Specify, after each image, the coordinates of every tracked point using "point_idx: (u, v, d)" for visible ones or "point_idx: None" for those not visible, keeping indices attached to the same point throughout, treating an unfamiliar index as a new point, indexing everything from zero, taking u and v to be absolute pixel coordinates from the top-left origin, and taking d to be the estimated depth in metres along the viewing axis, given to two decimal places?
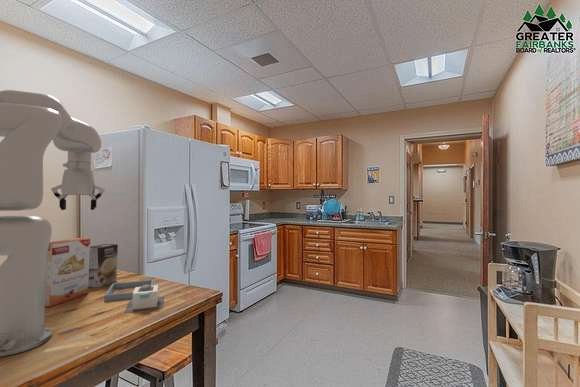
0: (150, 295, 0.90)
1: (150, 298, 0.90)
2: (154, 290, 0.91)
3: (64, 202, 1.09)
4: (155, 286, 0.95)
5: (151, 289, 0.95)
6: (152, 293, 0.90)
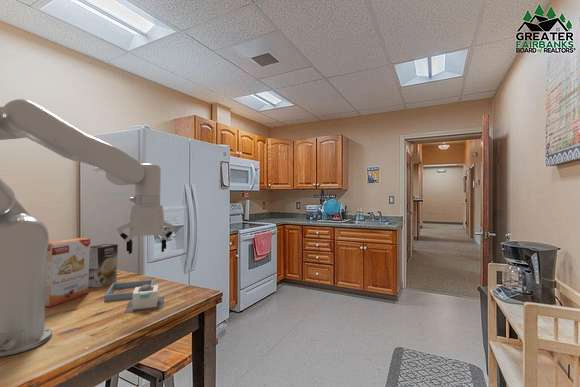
0: (150, 295, 0.90)
1: (150, 298, 0.90)
2: (154, 290, 0.91)
3: (131, 243, 0.91)
4: (155, 286, 0.95)
5: (151, 289, 0.95)
6: (152, 293, 0.90)
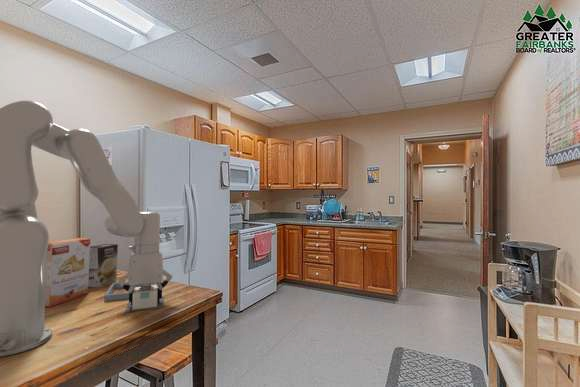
0: (150, 295, 0.90)
1: (150, 298, 0.90)
2: (154, 290, 0.91)
3: None
4: (155, 286, 0.95)
5: (151, 289, 0.95)
6: (152, 293, 0.90)
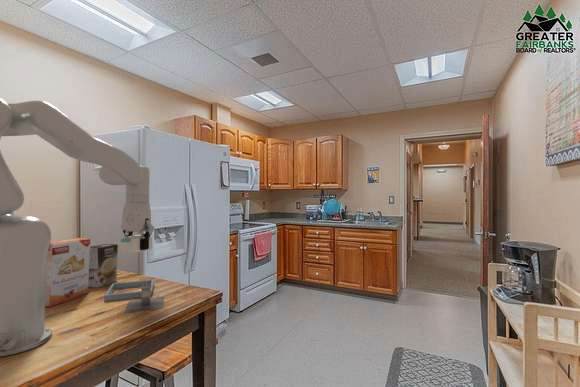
0: (131, 241, 0.97)
1: (131, 244, 0.97)
2: (136, 238, 0.98)
3: None
4: None
5: None
6: (132, 240, 0.97)
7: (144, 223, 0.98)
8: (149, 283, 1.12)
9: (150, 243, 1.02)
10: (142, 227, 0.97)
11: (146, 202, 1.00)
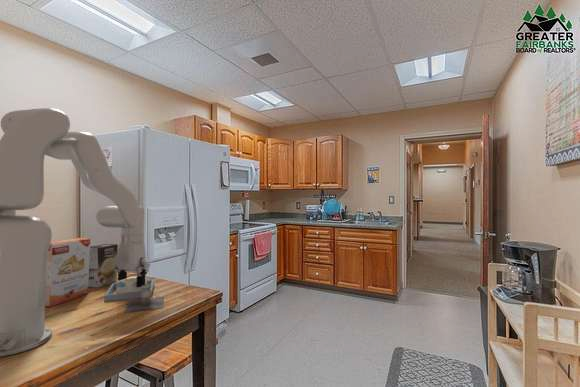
0: (125, 285, 1.00)
1: (126, 288, 1.00)
2: (131, 282, 1.01)
3: (123, 275, 1.06)
4: None
5: None
6: (127, 284, 1.00)
7: (139, 263, 1.01)
8: (149, 283, 1.12)
9: None
10: (137, 267, 1.00)
11: (141, 241, 1.03)
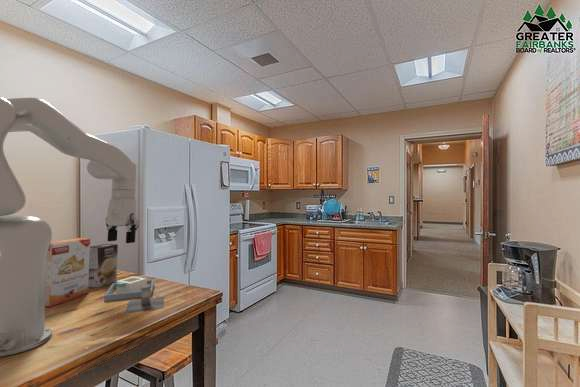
0: (125, 285, 1.00)
1: (126, 288, 1.00)
2: (131, 282, 1.01)
3: (113, 232, 1.03)
4: (141, 279, 1.05)
5: None
6: (127, 284, 1.00)
7: (129, 218, 0.99)
8: (149, 283, 1.12)
9: None
10: (127, 222, 0.98)
11: (132, 197, 1.01)
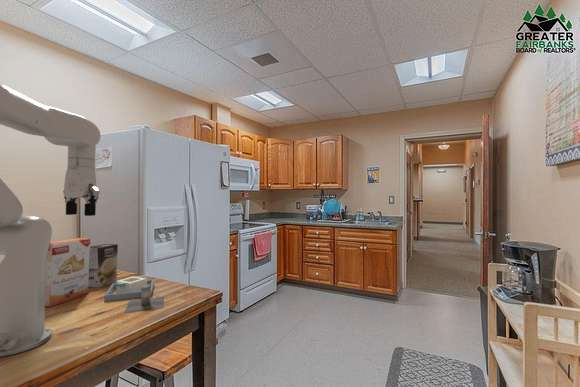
0: (125, 285, 1.00)
1: (126, 288, 1.00)
2: (131, 282, 1.01)
3: (72, 205, 0.96)
4: (141, 279, 1.05)
5: None
6: (127, 284, 1.00)
7: (87, 189, 0.91)
8: (149, 283, 1.12)
9: None
10: (85, 193, 0.90)
11: (91, 167, 0.93)
